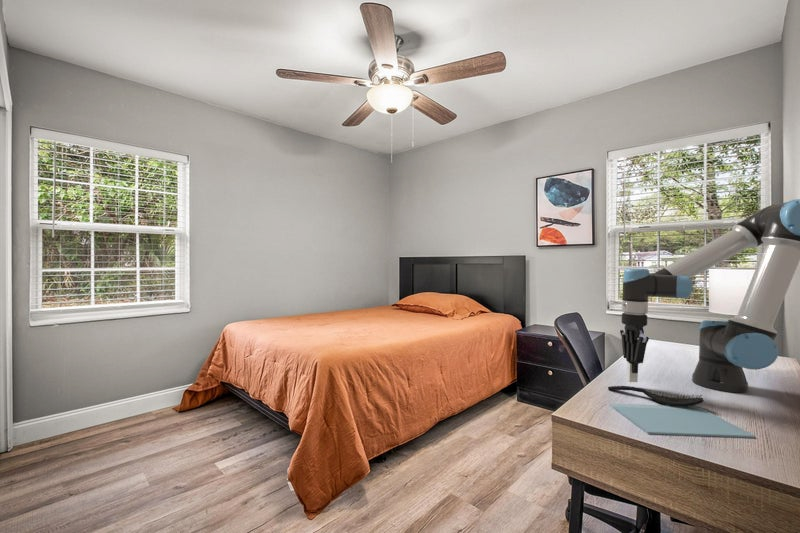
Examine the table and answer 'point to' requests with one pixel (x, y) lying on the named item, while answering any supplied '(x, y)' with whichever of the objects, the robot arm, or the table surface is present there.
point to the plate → (678, 420)
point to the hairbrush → (663, 397)
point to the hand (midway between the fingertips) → (632, 381)
